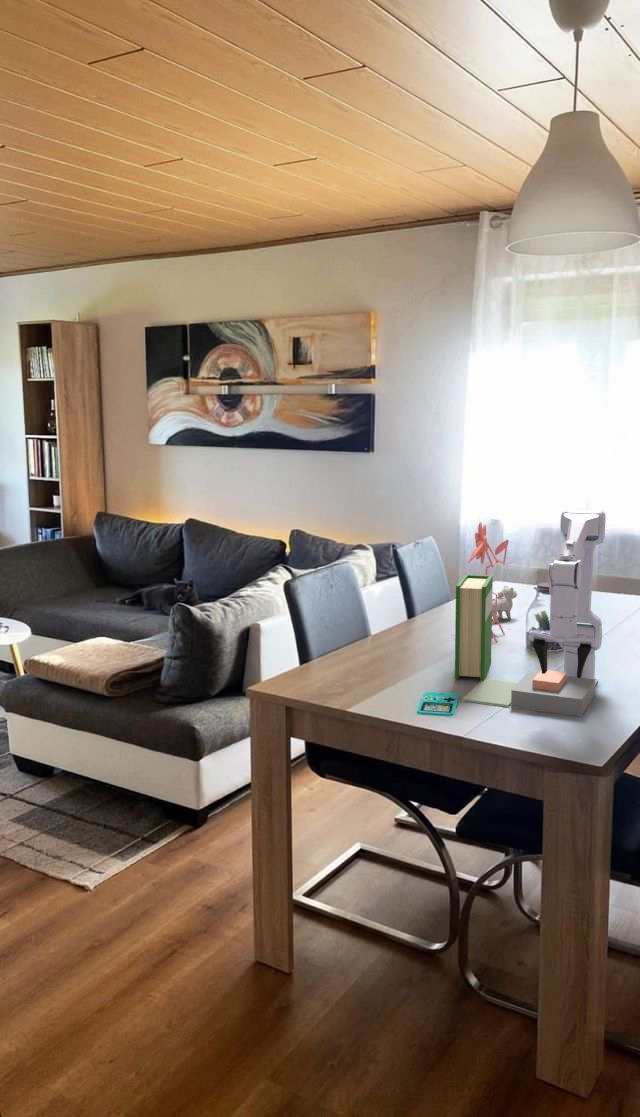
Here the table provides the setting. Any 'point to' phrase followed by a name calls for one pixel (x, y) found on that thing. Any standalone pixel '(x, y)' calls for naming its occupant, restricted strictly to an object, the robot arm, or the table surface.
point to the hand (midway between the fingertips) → (561, 674)
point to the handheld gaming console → (438, 703)
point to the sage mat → (491, 693)
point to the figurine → (480, 551)
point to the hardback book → (473, 626)
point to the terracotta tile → (549, 680)
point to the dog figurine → (504, 602)
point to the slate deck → (554, 696)
